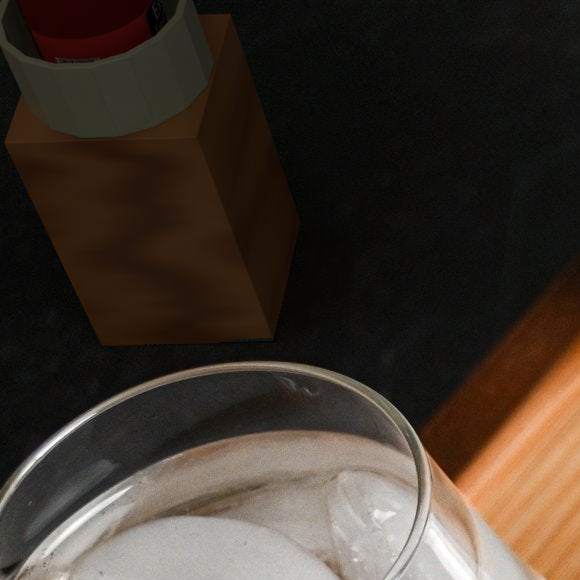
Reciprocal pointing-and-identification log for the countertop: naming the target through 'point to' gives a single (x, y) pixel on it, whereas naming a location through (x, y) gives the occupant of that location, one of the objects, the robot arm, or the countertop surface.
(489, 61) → the countertop surface
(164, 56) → the bowl
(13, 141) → the riser
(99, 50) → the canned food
